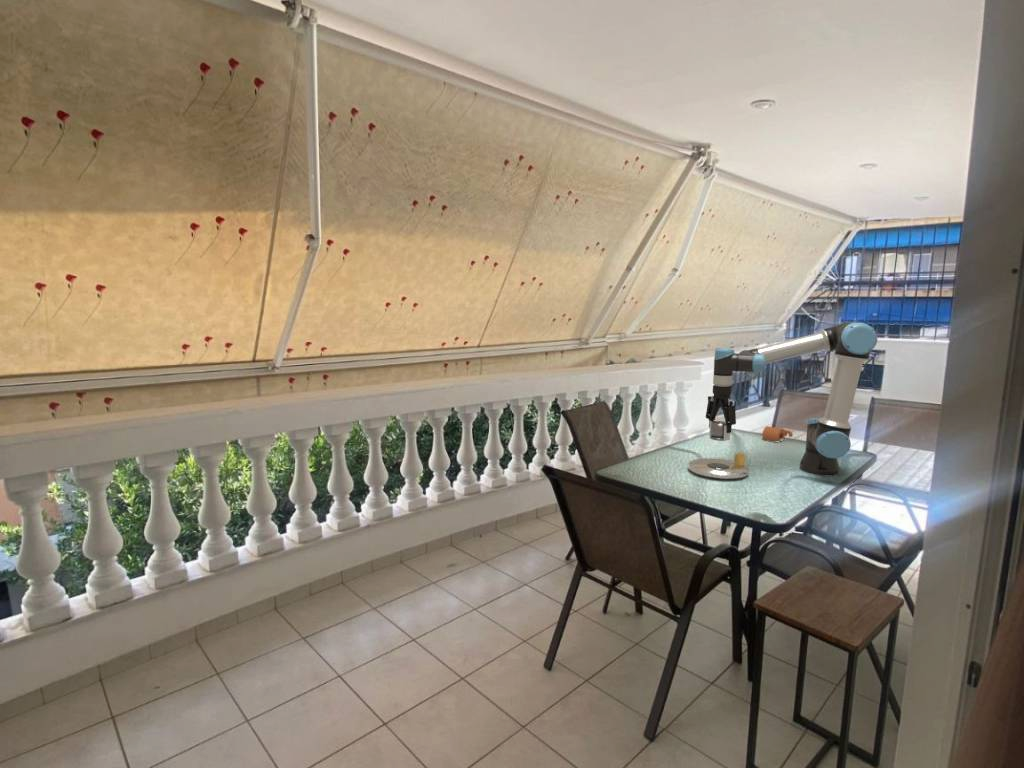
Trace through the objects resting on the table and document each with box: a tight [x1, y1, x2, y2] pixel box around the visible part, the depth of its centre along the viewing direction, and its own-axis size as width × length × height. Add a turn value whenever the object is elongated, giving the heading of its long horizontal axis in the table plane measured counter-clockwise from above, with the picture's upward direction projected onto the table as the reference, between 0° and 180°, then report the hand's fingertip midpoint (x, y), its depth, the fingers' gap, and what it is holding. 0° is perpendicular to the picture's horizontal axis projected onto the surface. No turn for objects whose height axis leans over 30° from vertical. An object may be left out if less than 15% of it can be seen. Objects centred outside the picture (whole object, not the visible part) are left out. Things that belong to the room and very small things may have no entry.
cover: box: [709, 420, 728, 442], centre depth 234 cm, size 8×8×7 cm
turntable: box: [688, 452, 749, 480], centre depth 235 cm, size 24×24×6 cm
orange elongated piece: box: [761, 425, 793, 442], centre depth 290 cm, size 20×8×8 cm, turn 129°
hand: (719, 437), depth 235 cm, fingers closed on cover, 7 cm apart
